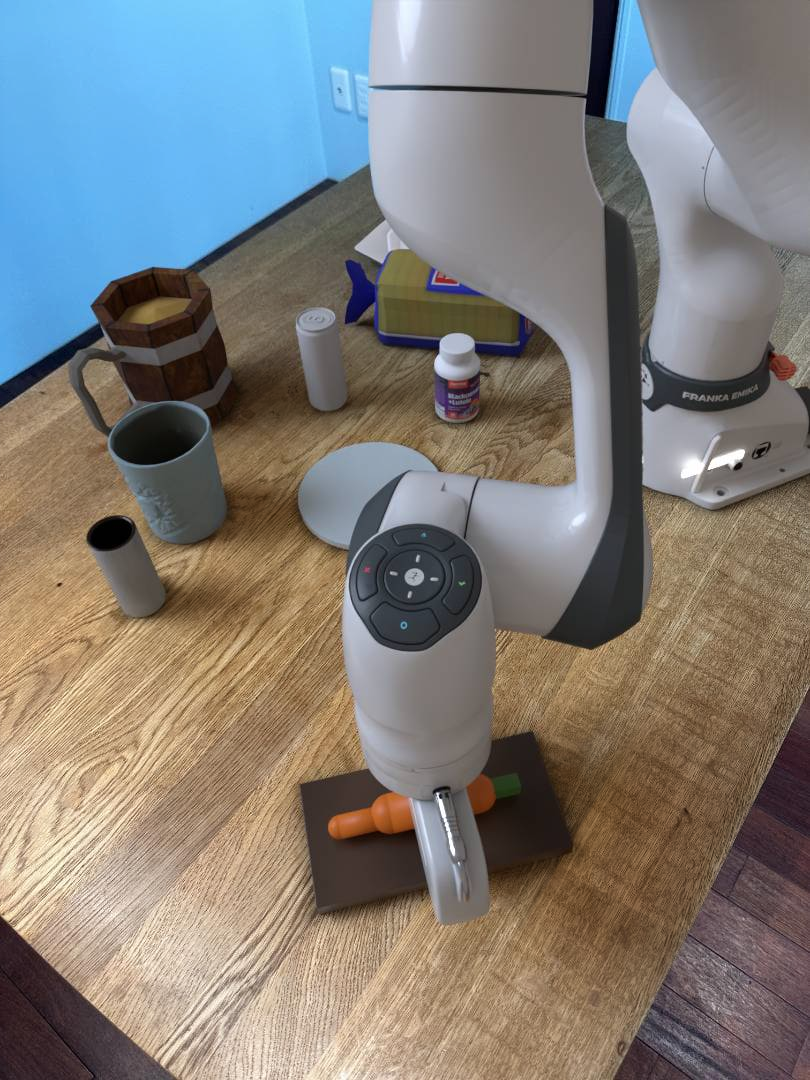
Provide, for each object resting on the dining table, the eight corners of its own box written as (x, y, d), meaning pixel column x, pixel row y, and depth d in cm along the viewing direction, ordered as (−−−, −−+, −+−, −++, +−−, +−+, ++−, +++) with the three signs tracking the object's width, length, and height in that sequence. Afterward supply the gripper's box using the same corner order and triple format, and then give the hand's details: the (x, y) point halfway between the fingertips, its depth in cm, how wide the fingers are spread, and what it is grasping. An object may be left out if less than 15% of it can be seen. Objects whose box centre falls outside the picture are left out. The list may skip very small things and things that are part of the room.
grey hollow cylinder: (144, 625, 80) (110, 558, 72) (111, 606, 82) (75, 539, 74) (175, 593, 82) (146, 525, 75) (143, 576, 84) (111, 508, 76)
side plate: (425, 438, 96) (424, 430, 95) (459, 536, 85) (459, 529, 84) (291, 463, 94) (289, 456, 93) (309, 566, 84) (308, 559, 83)
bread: (527, 365, 104) (532, 294, 96) (341, 347, 109) (332, 278, 101) (536, 320, 110) (542, 250, 103) (361, 305, 115) (354, 236, 107)
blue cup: (145, 558, 86) (108, 476, 77) (140, 493, 92) (105, 411, 83) (240, 535, 87) (215, 453, 78) (228, 473, 94) (204, 390, 85)
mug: (185, 357, 109) (153, 254, 98) (260, 390, 104) (235, 285, 92) (70, 441, 99) (20, 337, 88) (146, 482, 93) (102, 377, 82)
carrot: (512, 776, 66) (513, 757, 64) (524, 810, 64) (525, 791, 62) (327, 819, 65) (322, 800, 62) (333, 855, 62) (327, 837, 60)
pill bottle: (449, 430, 97) (447, 362, 89) (427, 405, 100) (424, 338, 93) (488, 414, 98) (490, 347, 91) (465, 390, 101) (465, 323, 94)
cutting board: (531, 739, 70) (532, 730, 69) (572, 852, 63) (574, 845, 62) (301, 791, 68) (299, 783, 67) (318, 914, 61) (316, 908, 60)
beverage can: (342, 415, 99) (330, 332, 90) (305, 412, 100) (289, 329, 91) (352, 391, 102) (341, 308, 93) (315, 387, 103) (301, 305, 94)
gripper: (519, 871, 47) (509, 939, 57) (435, 598, 60) (439, 694, 71) (413, 897, 46) (422, 961, 57) (352, 615, 60) (368, 709, 70)
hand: (431, 811), depth 64 cm, fingers open, 7 cm apart
